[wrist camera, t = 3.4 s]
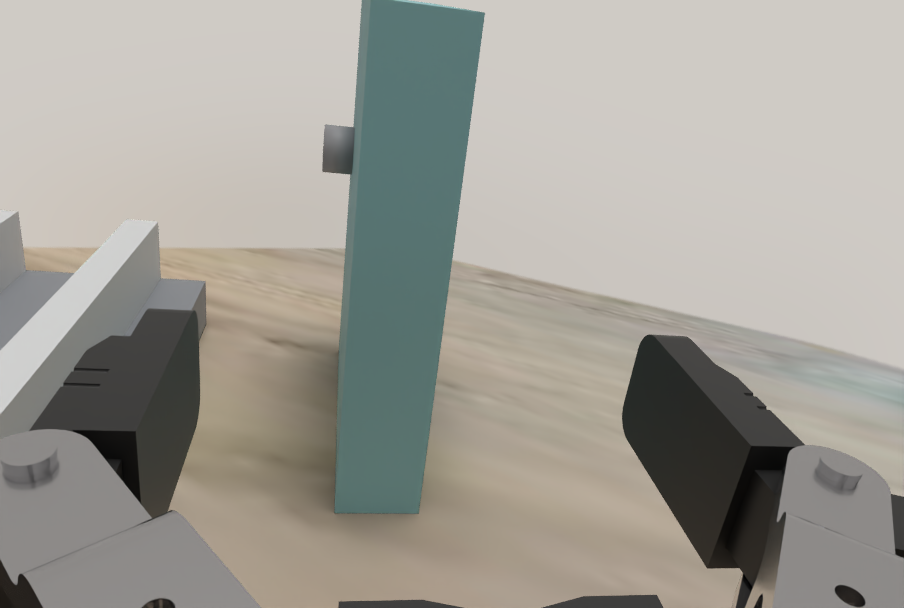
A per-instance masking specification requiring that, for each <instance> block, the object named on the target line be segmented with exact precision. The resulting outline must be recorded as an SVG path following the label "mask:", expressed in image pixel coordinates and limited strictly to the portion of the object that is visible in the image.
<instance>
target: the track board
mask: <svg viewBox="0 0 904 608" xmlns="http://www.w3.org/2000/svg"><path fill="white" fill-rule="evenodd" d="M148 308H155V309H174V310H194V311H196V313H197V318H198V333H199V339H200V337H201V335H202V332H203V330H204V328H205V325H206V285H205V281H194V280H178V279H161V274H160V253H159V232H158V222H155V221H141V220H129V219H127V220H125V221H124V223H123V224H122V225H121V226H120V227H119V228H118V229H117V230H116V231H115V232H114V233H113V234H112V235H111V236H110V237H109V238H108V239H107V240H106V241H105V242H104V243H103V245H102V246H100V247H99V248H98V249H97V251H96V252H95V253H94V254H93V255H92V256H91V257H90V258H89V259H88V260H87V261H86V262H85V263H84V264H83V265H82V266H81V267H80V268H79V269H78V270H77V271H76V272H75V273H62V272H46V271H29V270H26V267H25V259H24V252H23V244H22V237H21V229H20V221H19V214H18V211H7V210H0V439H2V438H5V437H8V436H10V435H14V434H18V433H22V432H27V431H29V430H30V429H31V427H32V426H33V424H34V423H35V422H36V420H37V419H38V417H39V416H40V415H41V413H42V412H43V410H44V409H45V408H46V406H47V405H48V403H49V402H50V401H51V399H52V398H53V396H54V395H55V394H56V392H57V391H58V389H59V388H60V387H63V382H64V381H65V380H66V378H67V377H68V375H69V374H70V373H71V371H74V367H75V366H76V364H77V363H78V361H79V360H80V359H81V357H82V356H83V354H84V353H85V352H86V350H87V349H89V348H91V347H93V346H94V345H96V344H98V343H99V342H101V341H103V340H104V339H106V338H108V337H109V336H111V335H115V336H131V334H132V332H133V331H134V329H135V328H136V326H137V324H138V323H139V321H140V320H141V318H142V316H143V315H144V313H145V311H146V310H147V309H148Z"/></svg>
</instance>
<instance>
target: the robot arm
mask: <svg viewBox="0 0 904 608" xmlns="http://www.w3.org/2000/svg"><path fill="white" fill-rule="evenodd" d="M199 405H200V370H199V333H198V318H197V313H196V311H194V310H174V309H155V308H148V309H147V310H146V311H145V313H144V315H143V316H142V318H141V320H140V321H139V323H138V324H137V326H136V328H135V329H134V331H133V332H132V334H131V336H115V335H111V336H109V337H108V338H106V339H104V340H103V341H101V342H99V343H98V344H96V345H94V346H93V347H91V348H89V349H87V350H86V352H85V353H84V354H83V356H82V357H81V359H80V360H79V361H78V363H77V364H76V366H75V367H74V371H71V373H70V374H69V375H68V377H67V378H66V380H65V381H64V382H63V387H60V388H59V389H58V391H57V392H56V394H55V395H54V396H53V398H52V399H51V401H50V402H49V403H48V405H47V406H46V408H45V409H44V410H43V412H42V413H41V415H40V416H39V417H38V419H37V420H36V422H35V423H34V424H33V426H32V427H31V429H30V430H29V431H27V432H22V433H18V434H14V435H10V436H8V437H5V438H2V439H0V608H261V607H260V606H259V605H258V604H257V602H256V601H255V600H254V599H253V598H252V596H251V595H250V594H249V593H248V592H247V591H246V589H245V588H244V587H243V586H242V585H241V584H240V582H239V581H238V580H237V579H236V578H235V576H234V575H233V574H232V573H231V572H230V571H229V569H228V568H227V567H226V566H225V565H224V563H223V562H222V561H221V560H220V559H219V558H218V556H217V555H216V554H215V553H214V552H213V551H212V549H211V548H210V547H209V546H208V545H207V543H206V542H205V541H204V540H203V539H202V538H201V536H200V535H199V534H198V533H197V532H196V531H195V529H194V528H193V527H192V526H191V525H190V523H189V522H188V521H187V520H186V519H185V518H184V517H183V516H182V515H181V514H180V513H178V512H176V511H173V510H171V511H168V508H169V505H170V502H171V499H172V497H173V494H174V491H175V488H176V485H177V482H178V479H179V476H180V473H181V470H182V467H183V464H184V461H185V458H186V455H187V452H188V449H189V446H190V444H191V441H192V438H193V435H194V432H195V429H196V425H197V420H198V414H199ZM622 422H623V429H624V433H625V436H626V438H627V440H628V442H629V444H630V445H631V447H632V448H633V450H634V452H635V453H636V455H637V456H638V458H639V460H640V461H641V463H642V464H643V466H644V468H645V469H646V471H647V472H648V474H649V476H650V477H651V479H652V481H653V482H654V484H655V485H656V487H657V489H658V490H659V492H660V493H661V495H662V497H663V498H664V500H665V501H666V503H667V505H668V506H669V508H670V509H671V511H672V513H673V514H674V516H675V517H676V519H677V521H678V522H679V524H680V525H681V527H682V529H683V530H684V532H685V534H686V535H687V537H688V538H689V540H690V542H691V543H692V545H693V546H694V548H695V550H696V551H697V553H698V554H699V556H700V558H701V559H702V561H703V562H704V564H705V566H706V567H707V568H740V569H741V571H742V572H743V573H742V575H741V578H740V580H739V583H738V585H737V588H736V591H735V595H734V599H733V604H732V608H904V497H902V496H897V495H893V494H891V492H890V488H889V486H888V484H887V483H886V481H885V480H884V479H883V478H882V477H881V476H880V475H879V474H878V473H877V472H876V471H875V470H873V469H872V468H871V467H869V466H868V465H866V464H865V463H863V462H861V461H860V460H858V459H856V458H854V457H852V456H850V455H847V454H845V453H842V452H840V451H837V450H833V449H830V448H826V447H821V446H813V445H805V444H804V443H803V442H802V441H801V440H800V439H799V438H798V437H796V436H795V435H794V434H793V433H792V432H791V431H790V430H789V429H788V428H787V427H786V426H785V425H784V424H783V423H782V422H781V421H780V420H779V419H778V418H777V417H776V416H775V415H774V414H773V413H772V412H771V411H770V410H766V406H765V405H764V404H763V403H762V402H761V401H760V400H759V399H758V398H757V397H754V396H753V393H752V392H751V391H750V390H749V389H748V388H747V387H746V386H745V385H744V384H743V383H742V382H741V381H740V380H739V379H738V378H737V377H736V376H734V375H732V374H731V373H729V372H727V371H726V370H724V369H722V368H721V367H719V366H717V365H716V364H714V363H713V362H712V361H711V360H710V358H709V357H708V356H707V355H706V354H705V353H704V352H703V351H702V350H701V349H700V348H699V347H698V346H697V345H696V344H695V343H694V342H693V341H692V340H691V339H690V338H688V337H685V336H666V335H647V336H645V337H644V338H643V339H642V341H641V343H640V345H639V348H638V352H637V356H636V360H635V364H634V367H633V371H632V375H631V379H630V383H629V386H628V390H627V394H626V398H625V402H624V406H623V413H622ZM167 511H168V512H167ZM338 608H462V607H457V606H452V605H446V604H441V603H436V602H431V601H425V600H393V601H346V602H339V607H338ZM543 608H663V606H662V604H661V602H660V600H659V598H658V596H657V595H629V596H583V597H580V598H576V599H572V600H569V601H565V602H561V603H557V604H554V605H550V606H546V607H543Z"/></svg>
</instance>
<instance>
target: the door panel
mask: <svg viewBox="0 0 904 608" xmlns="http://www.w3.org/2000/svg"><path fill="white" fill-rule="evenodd" d="M484 15H485V13H483V12H477V11H471V10H466V9H460V8H454V7H448V6H443V5H437V4H431V3H423V2H415V1H408V0H362V8H361V24H360V38H359V39H360V40H359V53H358V68H357V69H358V70H357V85H356V98H355V114H354V127H344V126H334V125H325V131H324V146H323V172H331V173H341V174H350V189H349V205H348V219H347V235H346V249H345V265H344V280H343V295H342V310H341V325H340V340H339V360H338V398H337V436H336V474H335V511H334V513H408V514H419V506H420V499H421V491H422V483H423V476H424V468H425V461H426V453H427V446H428V438H429V431H430V423H431V415H432V408H433V400H434V393H435V385H436V378H437V370H438V363H439V355H440V348H441V340H442V332H443V325H444V317H445V310H446V302H447V295H448V287H449V280H450V272H451V265H452V257H453V249H454V242H455V234H456V227H457V219H458V212H459V204H460V197H461V188H462V182H463V173H464V166H465V159H466V151H467V144H468V136H469V129H470V121H471V114H472V106H473V98H474V91H475V83H476V76H477V67H478V61H479V52H480V46H481V38H482V31H483V23H484Z"/></svg>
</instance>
